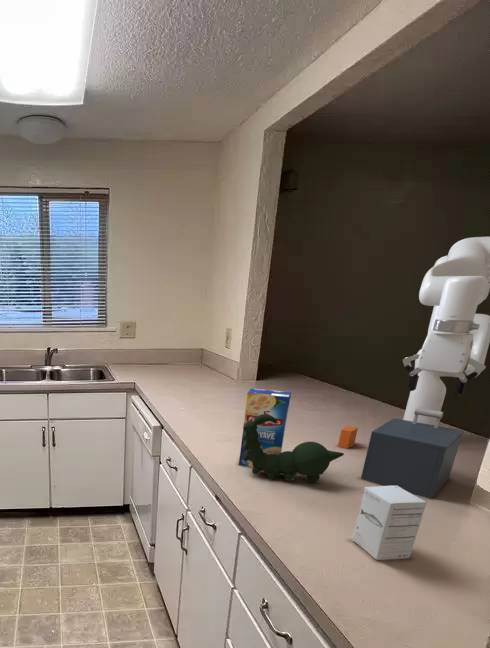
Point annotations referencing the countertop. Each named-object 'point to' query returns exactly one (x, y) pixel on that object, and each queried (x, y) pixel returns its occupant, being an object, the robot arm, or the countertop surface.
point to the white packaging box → (388, 522)
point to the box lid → (420, 431)
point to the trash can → (408, 465)
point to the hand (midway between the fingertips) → (433, 393)
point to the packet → (347, 437)
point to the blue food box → (268, 431)
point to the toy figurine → (285, 455)
